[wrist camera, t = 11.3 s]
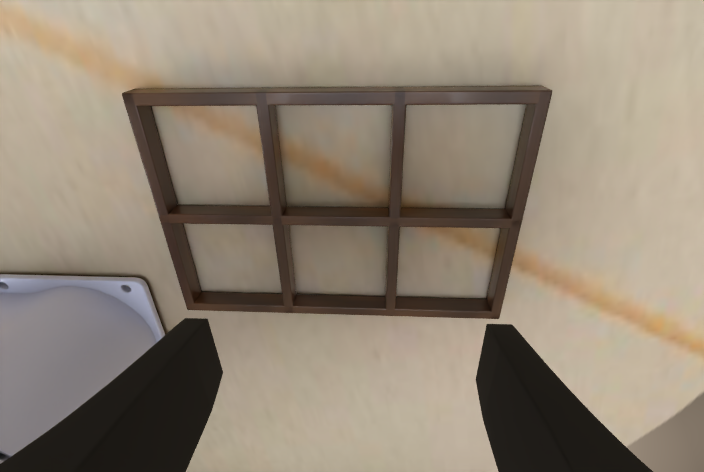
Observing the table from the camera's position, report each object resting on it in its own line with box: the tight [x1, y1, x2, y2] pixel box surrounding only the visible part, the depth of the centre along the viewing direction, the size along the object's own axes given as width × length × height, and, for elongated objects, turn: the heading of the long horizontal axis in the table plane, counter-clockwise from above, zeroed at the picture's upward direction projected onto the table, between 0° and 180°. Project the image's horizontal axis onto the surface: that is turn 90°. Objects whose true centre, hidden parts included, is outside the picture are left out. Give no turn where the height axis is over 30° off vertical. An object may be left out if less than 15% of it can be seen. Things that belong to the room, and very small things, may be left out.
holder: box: [122, 86, 552, 319], centre depth 18 cm, size 16×11×1 cm
